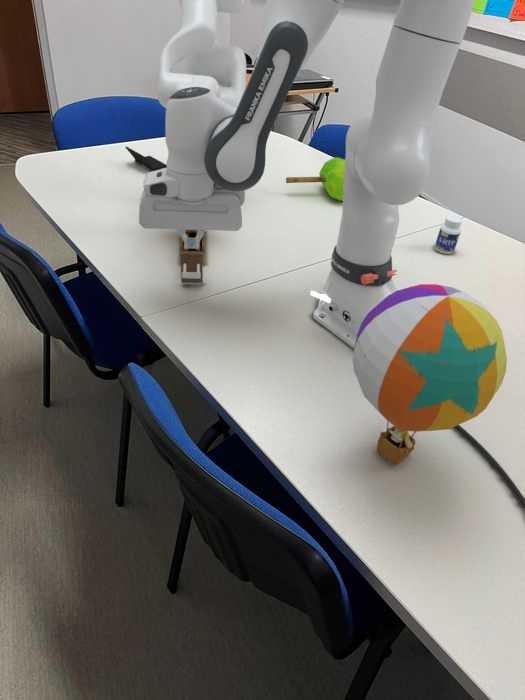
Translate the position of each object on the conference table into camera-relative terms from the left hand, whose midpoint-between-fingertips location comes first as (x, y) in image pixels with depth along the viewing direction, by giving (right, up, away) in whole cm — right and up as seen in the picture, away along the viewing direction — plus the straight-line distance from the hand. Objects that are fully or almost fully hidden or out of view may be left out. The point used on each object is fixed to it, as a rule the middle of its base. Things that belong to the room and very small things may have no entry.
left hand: (193, 212), depth 131 cm
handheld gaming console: (-21, +26, +42) cm, 54 cm away
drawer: (+1, -16, -10) cm, 19 cm away
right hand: (+3, -14, -23) cm, 27 cm away
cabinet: (0, -9, +1) cm, 9 cm away
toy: (+38, -52, -48) cm, 80 cm away
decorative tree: (+39, +14, +34) cm, 54 cm away
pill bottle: (+67, -8, +10) cm, 68 cm away
